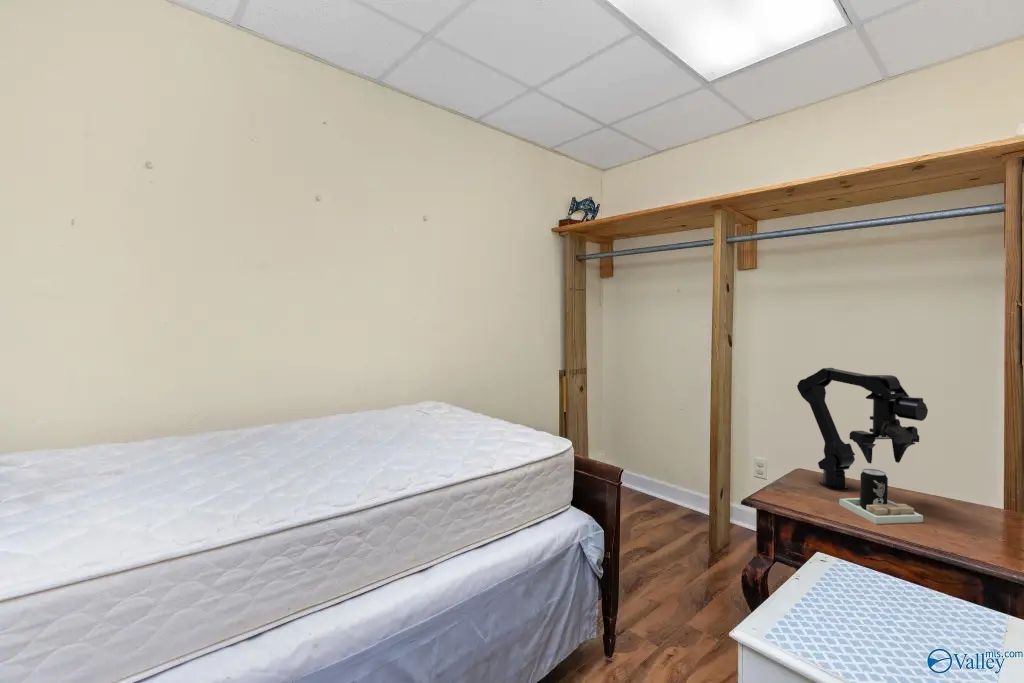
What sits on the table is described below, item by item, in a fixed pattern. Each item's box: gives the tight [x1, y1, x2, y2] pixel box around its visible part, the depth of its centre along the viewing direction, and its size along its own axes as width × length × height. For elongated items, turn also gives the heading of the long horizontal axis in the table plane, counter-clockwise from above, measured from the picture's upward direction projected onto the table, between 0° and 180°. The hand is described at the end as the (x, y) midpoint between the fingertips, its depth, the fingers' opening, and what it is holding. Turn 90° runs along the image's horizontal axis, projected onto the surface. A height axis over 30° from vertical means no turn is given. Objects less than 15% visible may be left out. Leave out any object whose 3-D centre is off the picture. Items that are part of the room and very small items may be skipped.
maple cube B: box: [880, 504, 901, 515], centre depth 136 cm, size 4×4×4 cm
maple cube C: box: [893, 503, 915, 515], centre depth 137 cm, size 4×4×4 cm
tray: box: [839, 497, 924, 525], centre depth 140 cm, size 14×14×2 cm
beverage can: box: [859, 468, 889, 510], centre depth 142 cm, size 7×7×12 cm
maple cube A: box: [866, 505, 888, 516], centre depth 136 cm, size 4×4×4 cm
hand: (883, 462), depth 149 cm, fingers open, 9 cm apart
